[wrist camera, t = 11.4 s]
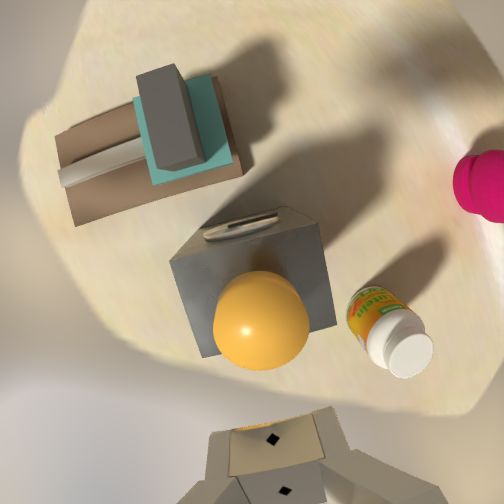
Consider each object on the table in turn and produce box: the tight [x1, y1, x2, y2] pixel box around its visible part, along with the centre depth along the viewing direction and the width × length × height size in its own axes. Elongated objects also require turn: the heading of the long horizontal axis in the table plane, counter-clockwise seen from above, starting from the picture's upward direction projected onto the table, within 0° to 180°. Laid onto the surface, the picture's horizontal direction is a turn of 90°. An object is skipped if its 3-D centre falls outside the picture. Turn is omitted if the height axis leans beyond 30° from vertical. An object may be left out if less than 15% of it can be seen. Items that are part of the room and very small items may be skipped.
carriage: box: [133, 64, 233, 185], centre depth 21 cm, size 7×6×8 cm
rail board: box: [55, 77, 243, 227], centre depth 25 cm, size 9×16×3 cm, turn 104°
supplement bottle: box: [346, 286, 434, 378], centre depth 26 cm, size 5×5×10 cm
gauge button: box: [213, 271, 309, 371], centre depth 14 cm, size 4×4×2 cm
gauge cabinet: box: [169, 207, 337, 358], centre depth 23 cm, size 7×8×12 cm
